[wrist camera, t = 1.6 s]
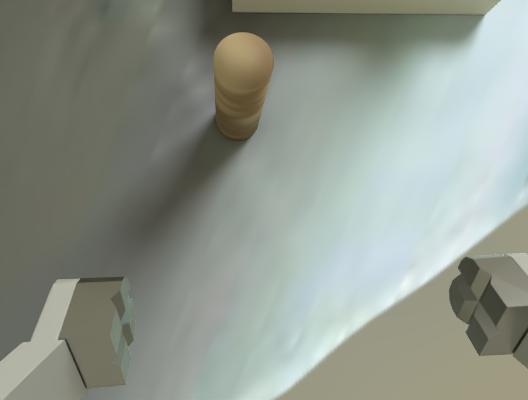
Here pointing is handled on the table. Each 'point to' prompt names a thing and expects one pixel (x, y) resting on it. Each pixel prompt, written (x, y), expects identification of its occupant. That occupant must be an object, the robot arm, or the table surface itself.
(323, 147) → the table surface
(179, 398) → the table surface
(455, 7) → the stool seat
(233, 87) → the stool leg
